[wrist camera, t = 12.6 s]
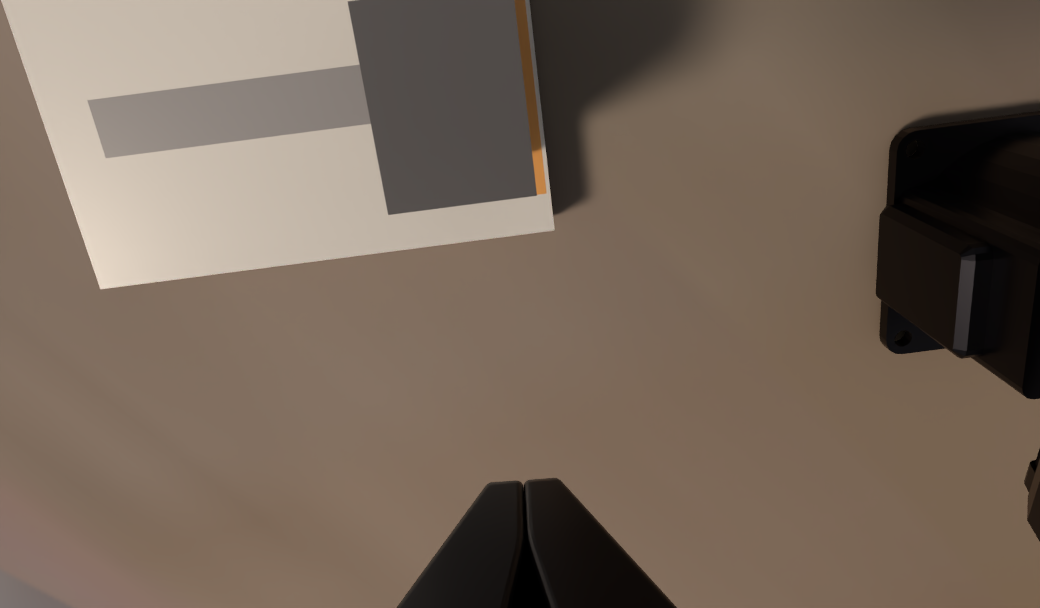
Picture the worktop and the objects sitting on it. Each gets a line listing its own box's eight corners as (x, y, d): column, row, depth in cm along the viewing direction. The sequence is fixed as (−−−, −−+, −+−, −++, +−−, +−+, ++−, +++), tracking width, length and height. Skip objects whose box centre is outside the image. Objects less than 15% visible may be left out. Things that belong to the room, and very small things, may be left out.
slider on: (506, -15, 18) (512, -21, 14) (527, 158, 19) (537, 195, 15) (376, 2, 18) (348, 1, 14) (407, 174, 19) (387, 215, 15)
